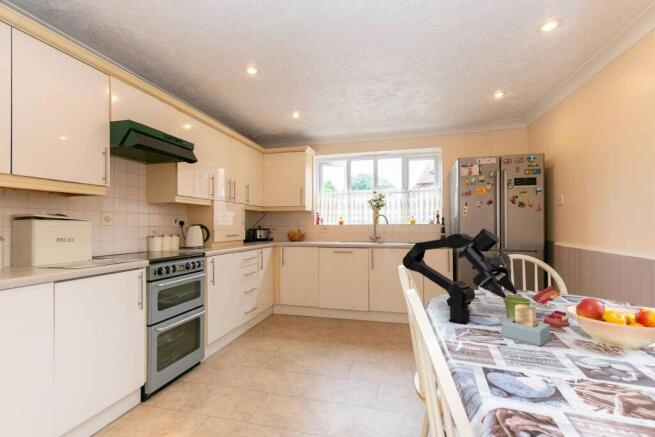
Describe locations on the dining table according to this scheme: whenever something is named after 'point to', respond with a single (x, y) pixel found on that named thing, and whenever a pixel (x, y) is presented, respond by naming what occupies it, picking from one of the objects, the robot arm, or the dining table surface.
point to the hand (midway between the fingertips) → (510, 295)
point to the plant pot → (512, 301)
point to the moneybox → (526, 332)
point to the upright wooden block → (525, 315)
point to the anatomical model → (557, 317)
